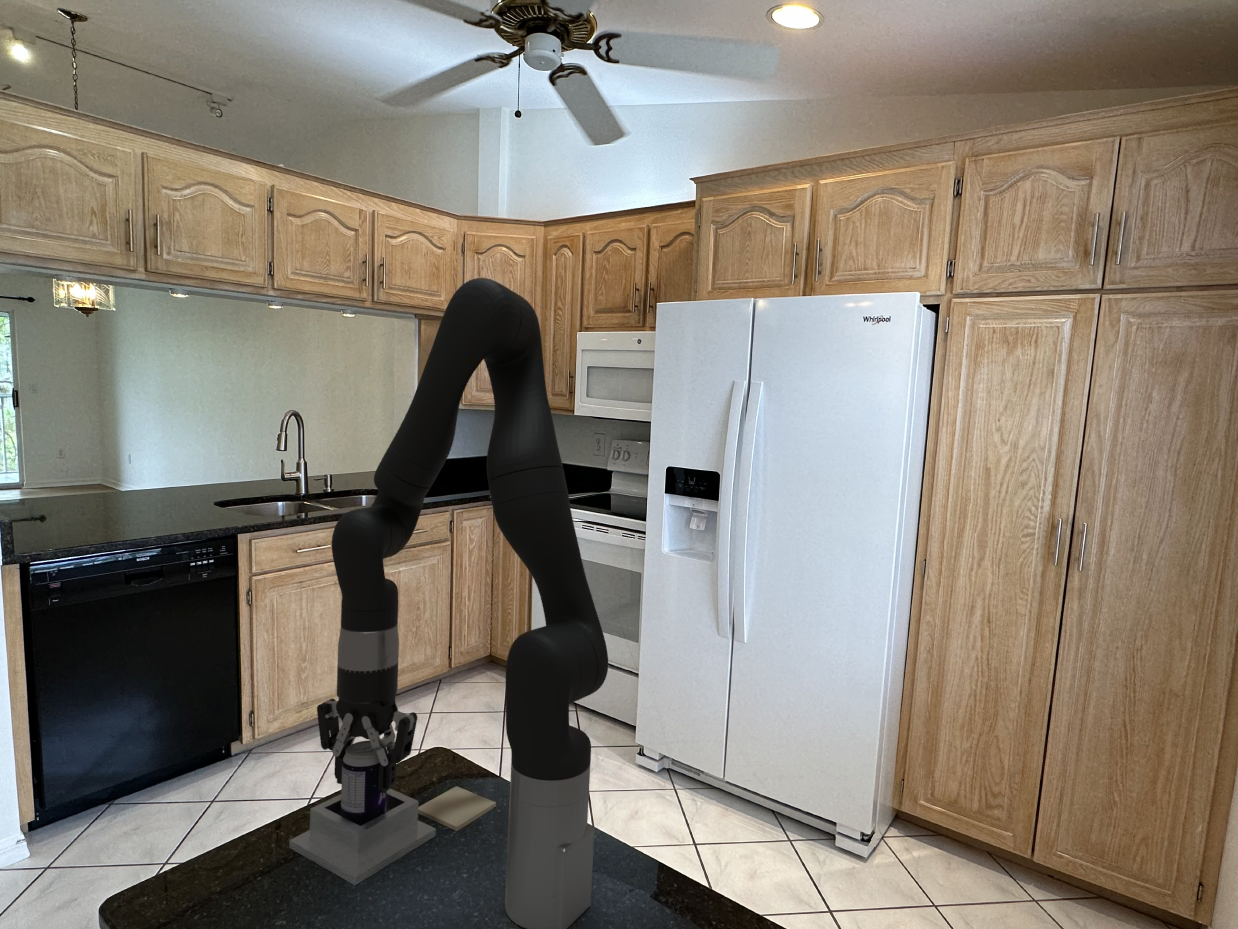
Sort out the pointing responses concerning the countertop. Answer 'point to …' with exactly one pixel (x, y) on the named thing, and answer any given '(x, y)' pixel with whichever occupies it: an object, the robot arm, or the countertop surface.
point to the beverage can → (361, 784)
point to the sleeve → (362, 837)
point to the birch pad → (456, 808)
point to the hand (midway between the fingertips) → (364, 785)
